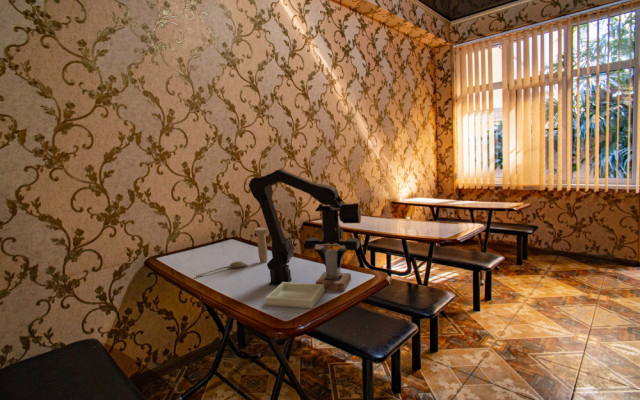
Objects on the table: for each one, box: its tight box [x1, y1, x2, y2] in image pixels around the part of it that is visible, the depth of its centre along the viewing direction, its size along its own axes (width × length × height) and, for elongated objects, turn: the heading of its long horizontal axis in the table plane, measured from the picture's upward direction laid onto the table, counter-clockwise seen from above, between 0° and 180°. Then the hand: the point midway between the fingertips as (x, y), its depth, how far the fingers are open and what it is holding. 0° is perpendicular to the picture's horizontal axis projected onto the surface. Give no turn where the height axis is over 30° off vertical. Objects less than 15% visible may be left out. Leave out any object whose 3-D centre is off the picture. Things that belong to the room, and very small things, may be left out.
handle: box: [254, 227, 268, 264], centre depth 149 cm, size 5×6×15 cm
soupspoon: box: [195, 261, 249, 279], centre depth 142 cm, size 22×3×7 cm
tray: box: [265, 281, 326, 310], centre depth 109 cm, size 15×13×2 cm
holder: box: [315, 271, 352, 292], centre depth 119 cm, size 10×10×2 cm
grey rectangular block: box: [325, 248, 341, 281], centre depth 118 cm, size 4×4×10 cm
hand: (333, 267), depth 118 cm, fingers closed on grey rectangular block, 4 cm apart
